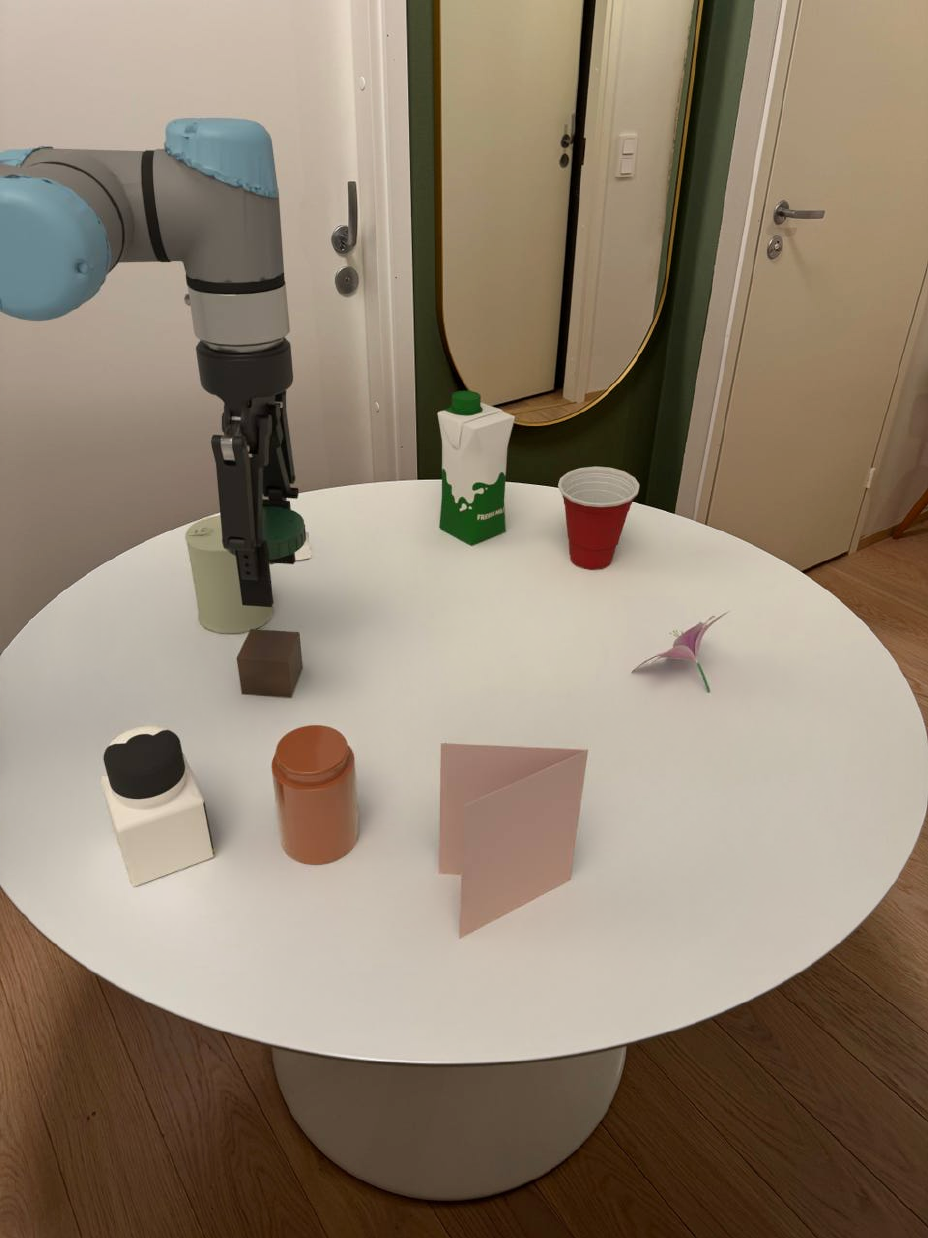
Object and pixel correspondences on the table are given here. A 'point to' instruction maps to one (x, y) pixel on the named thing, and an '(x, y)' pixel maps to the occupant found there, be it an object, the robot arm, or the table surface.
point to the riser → (270, 663)
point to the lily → (687, 645)
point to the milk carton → (473, 467)
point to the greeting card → (507, 824)
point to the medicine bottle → (154, 804)
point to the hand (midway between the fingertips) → (269, 581)
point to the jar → (315, 794)
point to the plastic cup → (596, 512)
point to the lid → (281, 531)
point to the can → (219, 582)
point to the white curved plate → (304, 550)
